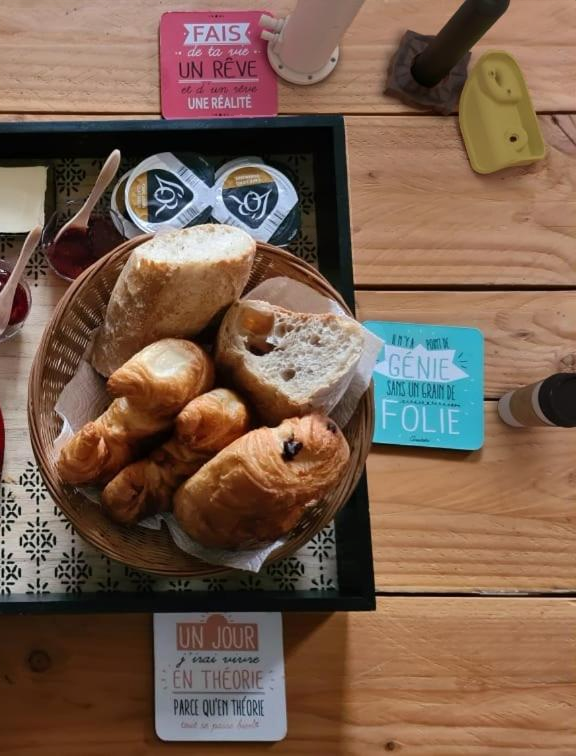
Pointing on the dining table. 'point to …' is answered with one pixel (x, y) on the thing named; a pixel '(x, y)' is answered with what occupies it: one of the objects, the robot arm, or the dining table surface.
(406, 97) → the brown square ring
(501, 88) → the plastic component
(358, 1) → the robot arm
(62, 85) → the dining table surface
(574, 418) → the coffee cup
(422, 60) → the wine bottle
